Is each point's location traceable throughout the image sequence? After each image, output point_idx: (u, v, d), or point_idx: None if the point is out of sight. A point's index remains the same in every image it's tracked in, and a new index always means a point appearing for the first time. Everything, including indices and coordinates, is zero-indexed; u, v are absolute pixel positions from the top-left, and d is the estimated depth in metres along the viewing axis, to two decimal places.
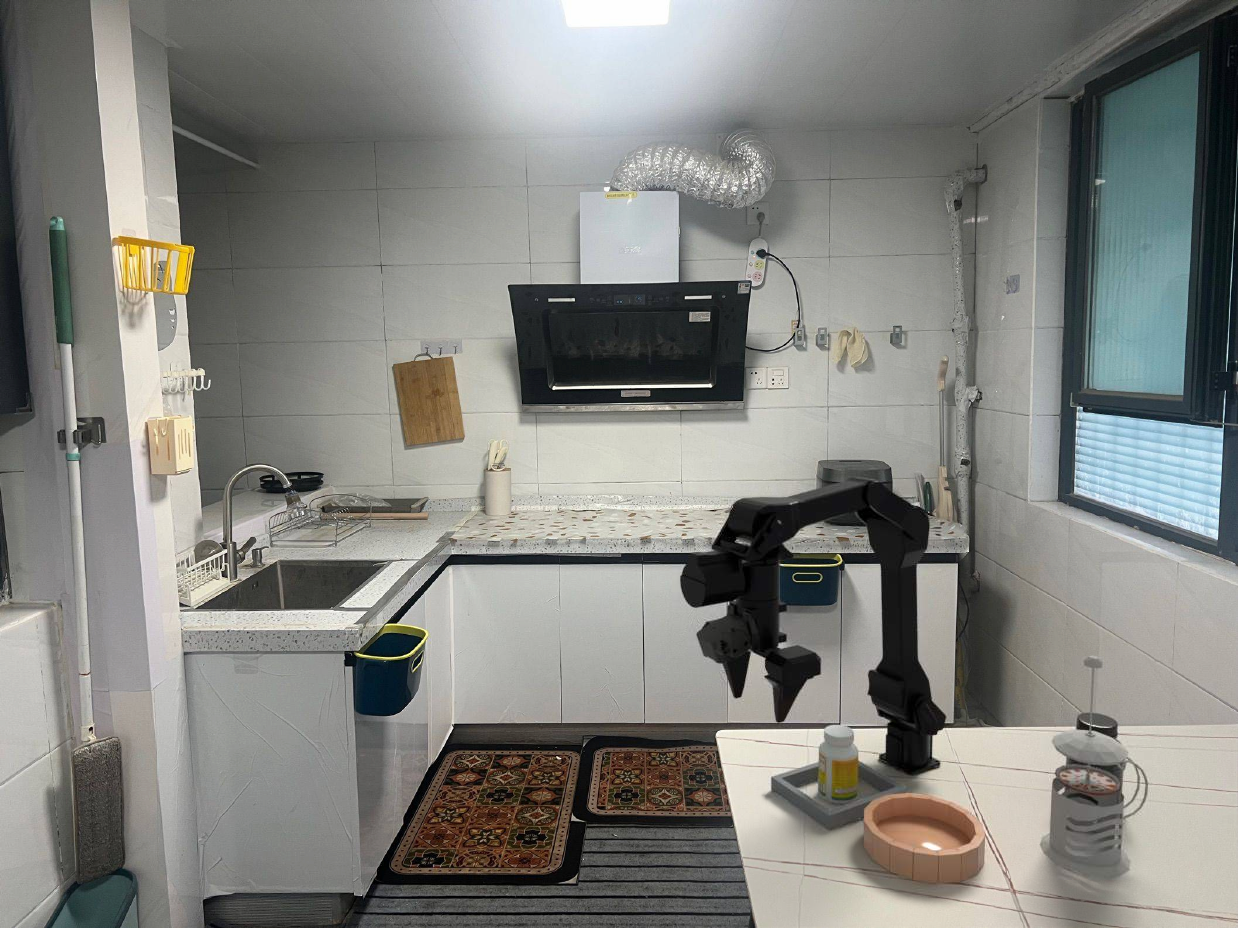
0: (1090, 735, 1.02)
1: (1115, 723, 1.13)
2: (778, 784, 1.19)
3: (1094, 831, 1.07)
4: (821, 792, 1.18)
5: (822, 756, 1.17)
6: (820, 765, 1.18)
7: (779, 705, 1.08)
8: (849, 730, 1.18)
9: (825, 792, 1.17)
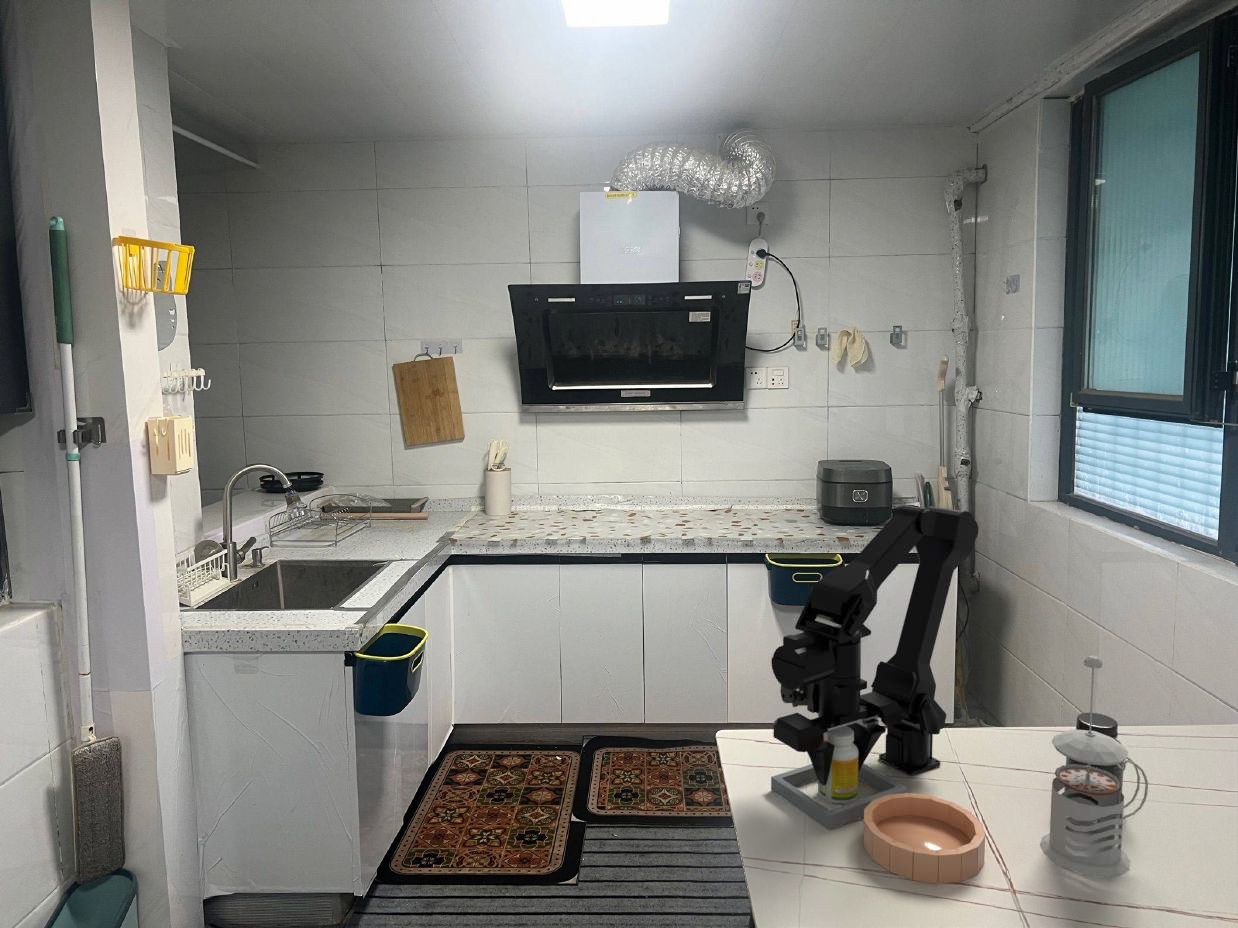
0: (1090, 735, 1.02)
1: (1115, 723, 1.13)
2: (778, 784, 1.19)
3: (1094, 831, 1.07)
4: (821, 792, 1.18)
5: None
6: None
7: (812, 764, 1.17)
8: (849, 730, 1.18)
9: (825, 792, 1.17)
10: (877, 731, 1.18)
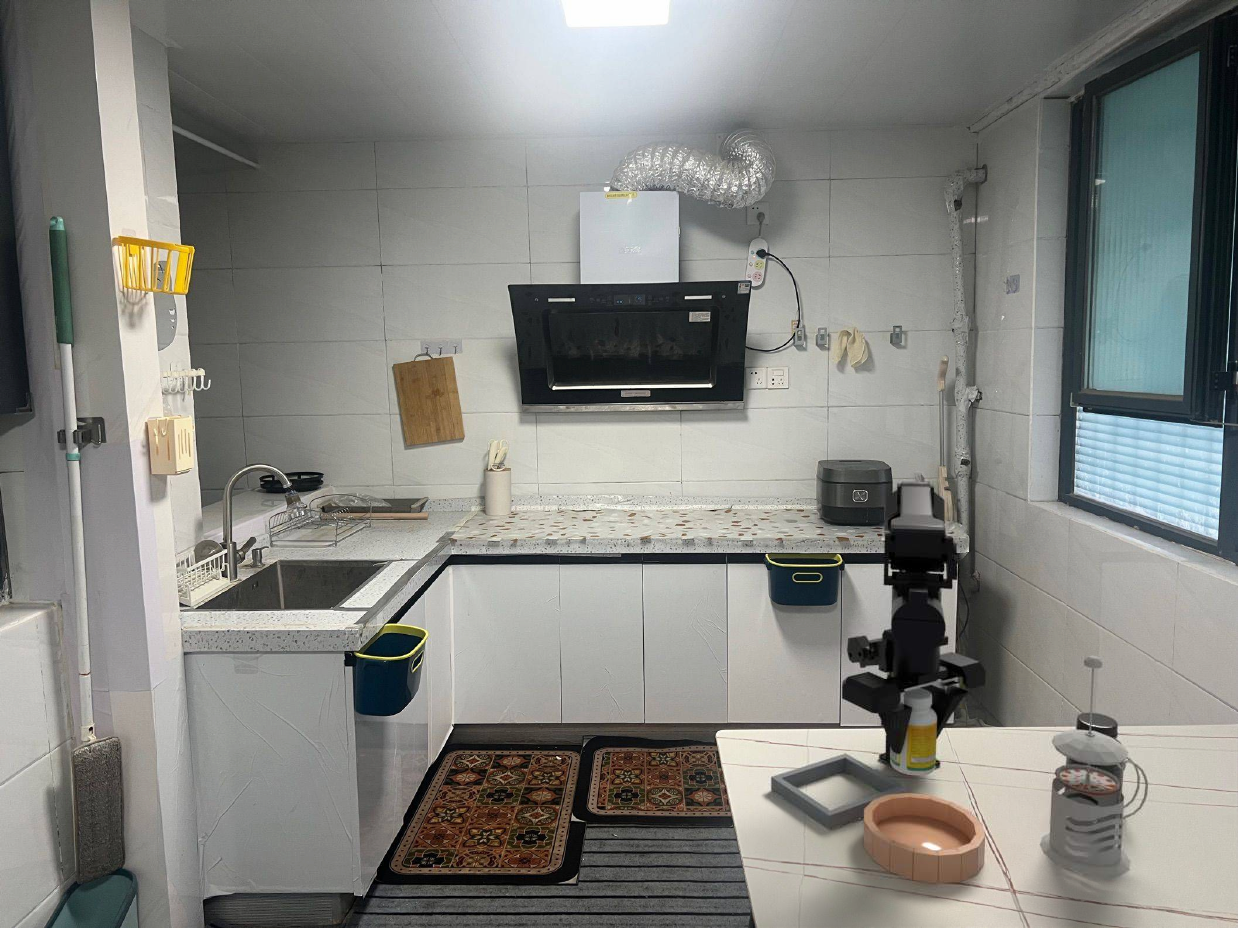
0: (1090, 735, 1.02)
1: (1115, 723, 1.13)
2: (778, 784, 1.19)
3: (1094, 831, 1.07)
4: (894, 762, 1.05)
5: None
6: None
7: (885, 730, 1.04)
8: (926, 692, 1.05)
9: (899, 762, 1.04)
10: (959, 694, 1.04)
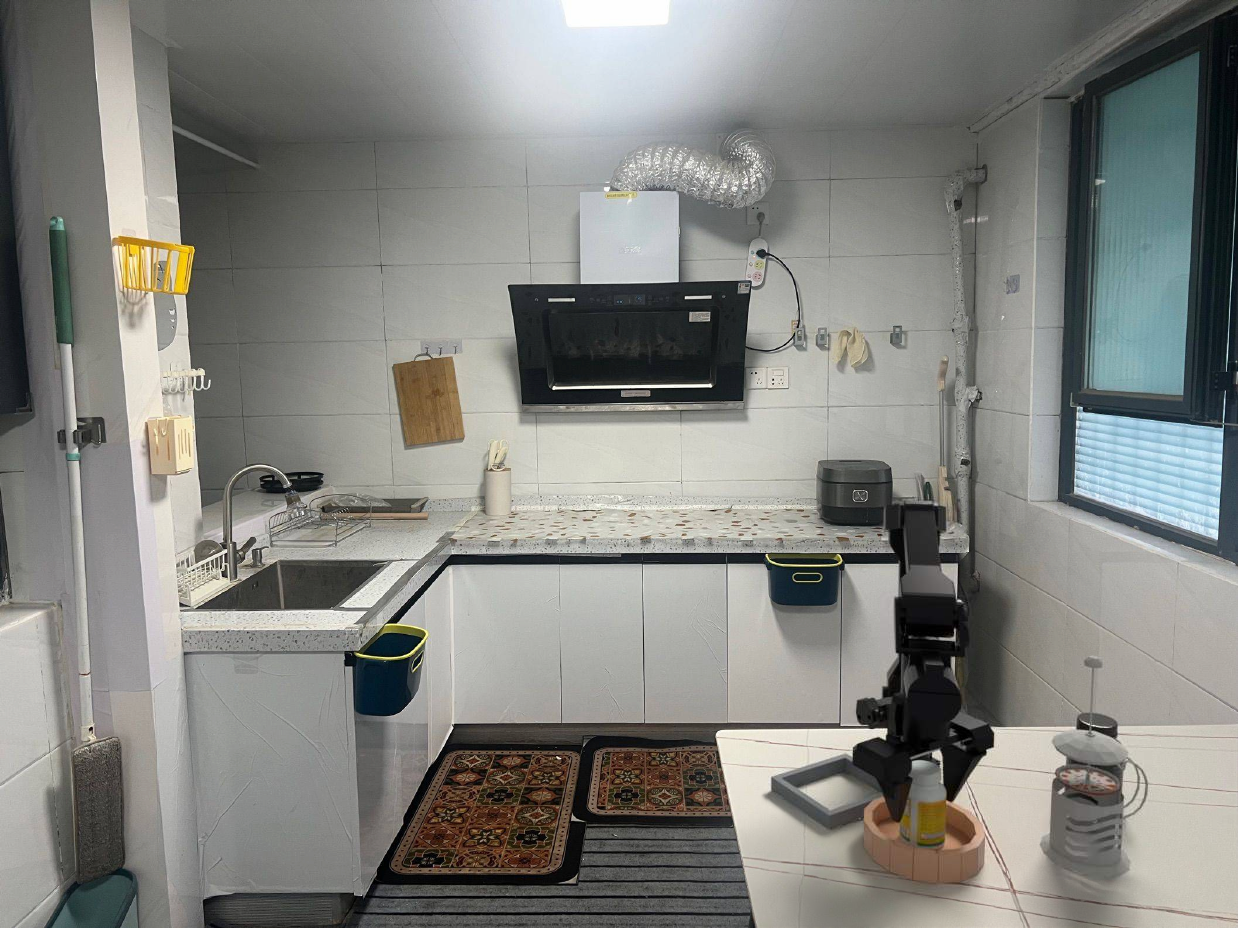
0: (1090, 735, 1.02)
1: (1115, 723, 1.13)
2: (778, 784, 1.19)
3: (1094, 831, 1.07)
4: (904, 837, 1.05)
5: None
6: None
7: (884, 798, 1.03)
8: (936, 767, 1.05)
9: (909, 837, 1.04)
10: (978, 754, 1.05)
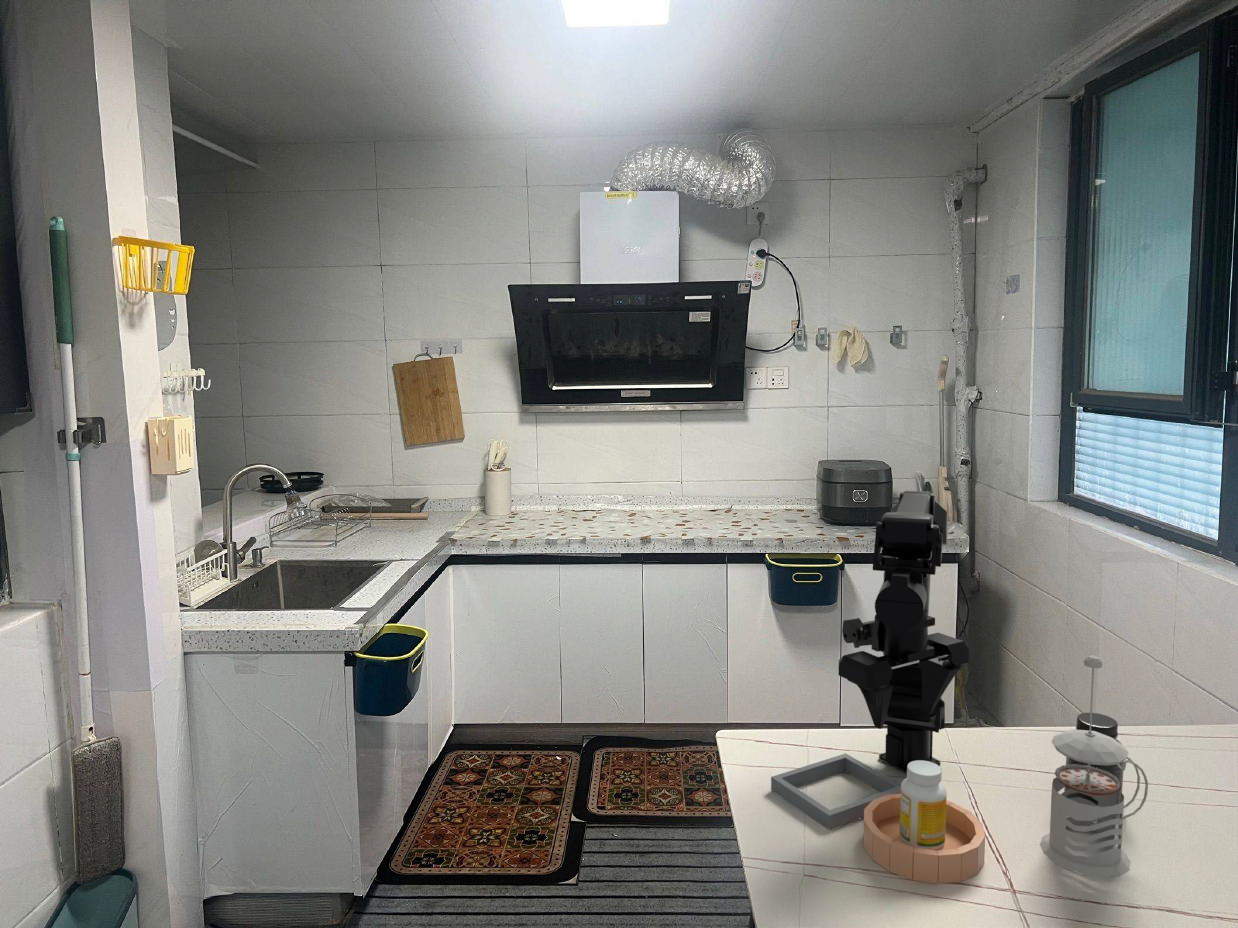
0: (1090, 735, 1.02)
1: (1115, 723, 1.13)
2: (778, 784, 1.19)
3: (1094, 831, 1.07)
4: (904, 837, 1.05)
5: (906, 796, 1.04)
6: (903, 806, 1.05)
7: (868, 706, 1.13)
8: (936, 767, 1.05)
9: (910, 837, 1.04)
10: (954, 668, 1.15)
